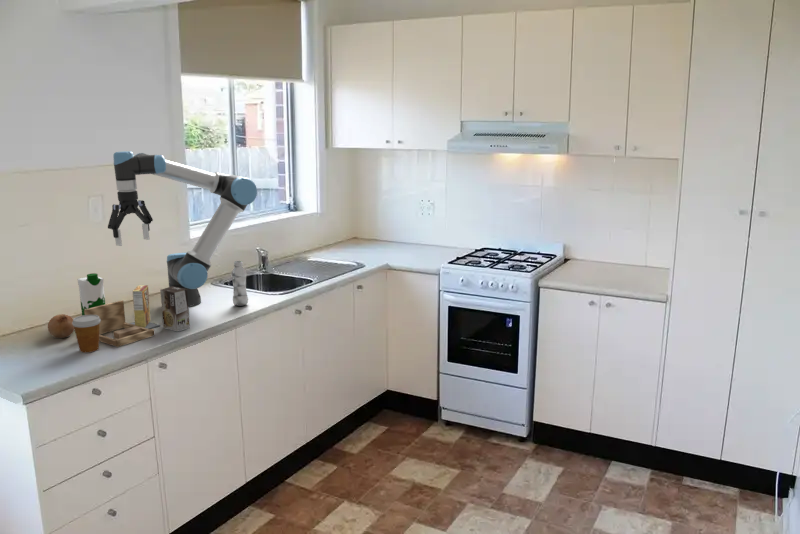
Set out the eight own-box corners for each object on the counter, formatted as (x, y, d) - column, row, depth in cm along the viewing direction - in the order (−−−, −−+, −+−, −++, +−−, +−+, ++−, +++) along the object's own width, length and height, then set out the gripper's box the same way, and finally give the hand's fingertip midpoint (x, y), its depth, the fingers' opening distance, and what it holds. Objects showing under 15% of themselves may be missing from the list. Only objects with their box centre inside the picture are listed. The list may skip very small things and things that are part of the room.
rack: (124, 326, 274) (121, 300, 272) (154, 335, 264) (152, 308, 261) (87, 337, 261) (84, 309, 259) (117, 346, 251) (114, 318, 248)
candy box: (140, 321, 279) (137, 285, 276) (151, 321, 280) (148, 284, 276) (134, 328, 271) (131, 290, 267) (145, 327, 271) (142, 290, 268)
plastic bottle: (249, 306, 303) (247, 262, 298) (234, 308, 300) (231, 264, 296) (247, 302, 308) (245, 259, 304) (231, 304, 306) (229, 261, 302)
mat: (142, 321, 281) (141, 319, 281) (160, 326, 275) (160, 324, 275) (124, 326, 275) (124, 324, 275) (143, 331, 268) (143, 330, 268)
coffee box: (190, 327, 273) (187, 289, 269) (177, 332, 268) (174, 292, 264) (176, 323, 278) (173, 285, 274) (162, 327, 273) (159, 289, 269)
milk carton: (88, 325, 276) (83, 277, 271) (79, 320, 282) (74, 273, 278) (109, 320, 282) (105, 273, 278) (100, 316, 288) (95, 270, 284)
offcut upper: (136, 331, 263) (135, 325, 262) (141, 333, 260) (141, 328, 260) (113, 337, 256) (113, 331, 256) (119, 339, 254) (118, 333, 253)
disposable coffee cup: (71, 349, 248) (67, 318, 245) (97, 343, 254) (94, 312, 252) (80, 356, 241) (77, 323, 239) (107, 349, 248) (104, 318, 245)
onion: (69, 345, 261) (71, 326, 256) (43, 341, 258) (44, 321, 253) (77, 330, 268) (79, 310, 263) (51, 325, 266) (53, 305, 261)
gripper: (145, 186, 285) (151, 236, 290) (93, 193, 264) (100, 247, 269) (158, 187, 282) (163, 237, 287) (106, 194, 261) (113, 249, 266)
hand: (133, 242), depth 278 cm, fingers open, 13 cm apart
